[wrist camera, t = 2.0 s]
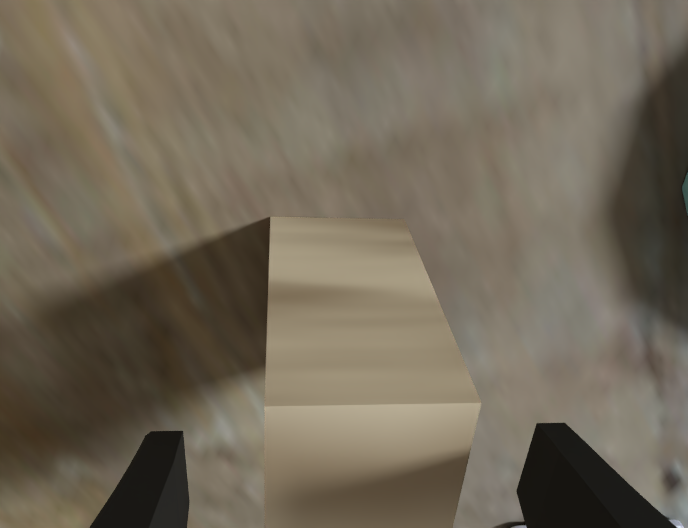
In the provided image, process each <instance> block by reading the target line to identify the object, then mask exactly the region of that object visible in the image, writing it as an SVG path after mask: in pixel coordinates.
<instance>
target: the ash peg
mask: <svg viewBox="0 0 688 528" xmlns="http://www.w3.org/2000/svg"><path fill="white" fill-rule="evenodd" d="M480 407H481V401H480V398H479V396H478V394H477V391H476V389H475V387H474V384H473V382H472V379H471V377H470V375H469V372H468V370H467V367H466V365H465V363H464V360H463V358H462V356H461V353H460V351H459V348H458V346H457V344H456V341H455V339H454V337H453V334H452V332H451V329H450V327H449V325H448V322H447V320H446V318H445V315H444V313H443V310H442V308H441V306H440V303H439V301H438V299H437V296H436V294H435V291H434V289H433V287H432V284H431V282H430V279H429V277H428V275H427V272H426V270H425V268H424V265H423V263H422V260H421V258H420V256H419V253H418V251H417V249H416V246H415V244H414V241H413V239H412V237H411V234H410V232H409V230H408V227H407V225H406V222H405V220H404V219H365V218H312V217H270V248H269V280H268V313H267V345H266V378H265V528H453V523H454V519H455V515H456V510H457V506H458V502H459V497H460V493H461V489H462V485H463V480H464V476H465V472H466V467H467V463H468V459H469V454H470V450H471V446H472V441H473V437H474V433H475V429H476V424H477V420H478V416H479V411H480Z"/></svg>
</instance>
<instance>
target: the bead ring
mask: <svg viewBox="0 0 688 528" xmlns="http://www.w3.org/2000/svg"><path fill="white" fill-rule="evenodd" d="M682 191H683V196H684V200H685V205H686V210H687V215H688V172H687V175H686V178H685V181H684V183H683V186H682Z"/></svg>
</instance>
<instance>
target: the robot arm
mask: <svg viewBox="0 0 688 528" xmlns="http://www.w3.org/2000/svg"><path fill="white" fill-rule="evenodd" d="M517 495H518V498H519V502H520V506H521V509H522V513H523V517H524V520H525V524H526V525H518V526H514V527H511V528H684V527H683V525H682V524H681V522H680V521H678V520H673V519H672V520H668V519H667V518H666V517H665V516H663V515H662V514H661V513H660V512H659V511H658V510H657V509H655V508H654V507H653V506H652V505H651V504H650V503H649V502H648V501H647V500H646V499H644V498H643V497H642V496H641V495H640V494H639V493H638V492H637V491H636V490H635V489H634V488H633V487H632V486H630V485H629V484H628V483H627V482H626V481H625V480H624V479H623V478H622V477H621V476H620V475H619V474H618V473H617V472H616V471H615V470H614V469H613V468H612V467H610V466H609V465H608V464H607V463H606V462H605V461H604V460H603V459H602V458H601V457H600V456H599V455H598V454H597V453H596V452H595V451H594V450H593V449H592V448H591V447H590V446H589V445H588V444H587V443H586V442H585V441H584V440H582V439H581V438H580V437H579V436H578V435H577V434H576V433H575V432H574V431H573V430H572V429H571V428H570V427H569V426H568V425H567V424H565V423H537V424H536V428H535V431H534V434H533V438H532V441H531V444H530V448H529V451H528V454H527V458H526V461H525V464H524V468H523V471H522V474H521V478H520V481H519V484H518V488H517ZM188 511H189V492H188V481H187V470H186V459H185V448H184V437H183V431H151V432H150V433H148V434H147V435H146V436H145V438H144V440H143V442H142V444H141V445H140V447H139V449H138V451H137V453H136V455H135V456H134V458H133V460H132V462H131V463H130V465H129V467H128V469H127V470H126V472H125V474H124V475H123V477H122V479H121V480H120V482H119V483H118V485H117V487H116V488H115V490H114V491H113V493H112V495H111V496H110V498H109V499H108V501H107V502H106V504H105V505H104V507H103V508H102V510H101V511H100V513H99V514H98V516H97V517H96V519H95V520H94V522H93V523H92V525H91V526H90V528H187V520H188Z"/></svg>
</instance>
